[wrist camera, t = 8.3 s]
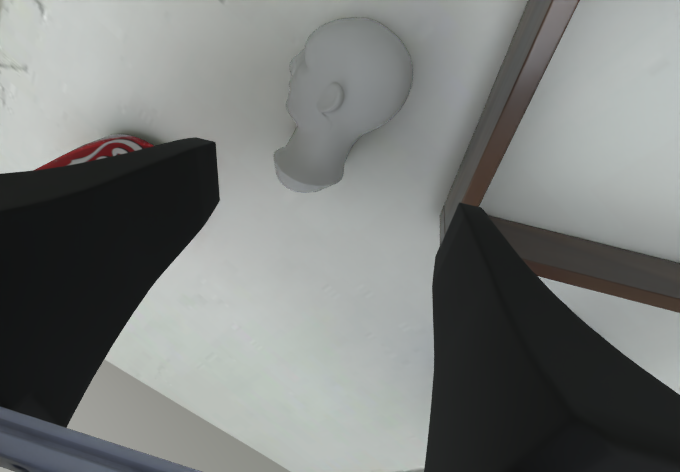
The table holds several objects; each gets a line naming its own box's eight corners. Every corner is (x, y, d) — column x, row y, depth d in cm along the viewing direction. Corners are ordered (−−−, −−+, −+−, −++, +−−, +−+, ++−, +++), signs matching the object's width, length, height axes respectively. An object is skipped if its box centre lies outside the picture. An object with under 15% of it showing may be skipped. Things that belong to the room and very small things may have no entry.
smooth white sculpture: (359, -11, 16) (443, 69, 15) (276, 129, 20) (339, 192, 20) (309, -33, 12) (416, 70, 12) (222, 142, 17) (299, 219, 17)
